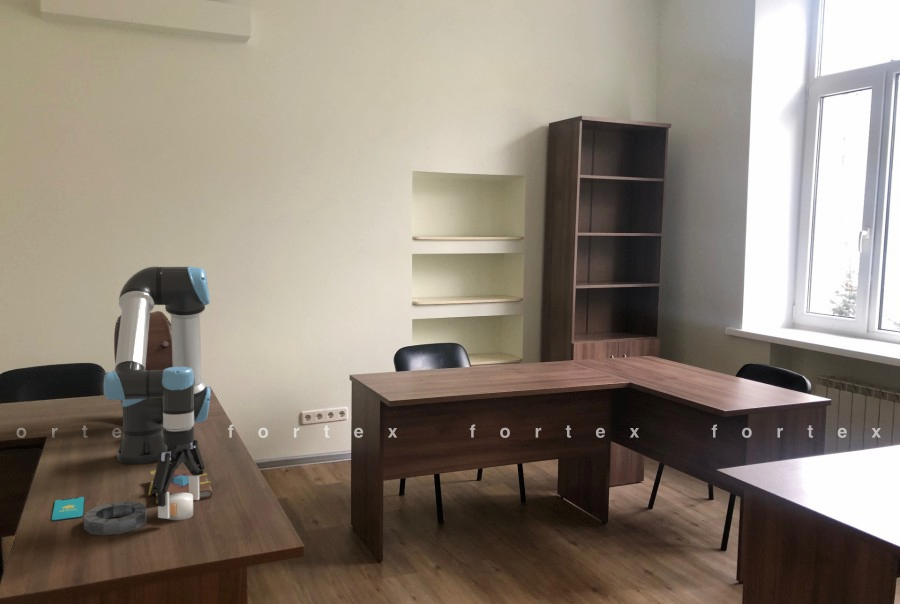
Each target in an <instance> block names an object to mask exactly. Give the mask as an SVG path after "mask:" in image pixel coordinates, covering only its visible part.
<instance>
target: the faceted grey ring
mask: <svg viewBox="0 0 900 604" xmlns="http://www.w3.org/2000/svg"><path fill="white" fill-rule="evenodd" d="M147 518H148V507H147V506H146V505H145V504H143V503H142V502H138V501H137V502H135V501H129V500H128V501H118V502H116V501H115V502H110V503H106V504H102V505H98V506H95V507H93V508H91V509H89V510H87V511H86V512H85V514H84V515H83V530H84V531H85V532H87V533H88V534H90V535H96V536H113V535H121V534H125V533H129V532H133V531H136V530H137V529H140V528H142V527H143V526H144V525H146V523H147Z"/></svg>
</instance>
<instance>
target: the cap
mask: <svg viewBox="0 0 900 604" xmlns="http://www.w3.org/2000/svg"><path fill="white" fill-rule="evenodd" d="M169 514H170V518H168V519H167V520H168V521H169V520H170V521H183V520H187V519H189V518H191V517H193V516H194V500H193V495H192V494H191V493H185V492H181V493H174V494H171V495H169Z"/></svg>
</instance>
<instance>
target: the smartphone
mask: <svg viewBox="0 0 900 604" xmlns="http://www.w3.org/2000/svg"><path fill="white" fill-rule="evenodd" d="M85 499H86V498H85V496H79V497H72V498H71V497H70V498H65V499H64V498H63V499H56V500H55V501H54V504H53V509H52V514H51V519H50V520H51V522H60V521H66V520H74V519H81V518H84V509H85Z"/></svg>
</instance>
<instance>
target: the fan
mask: <svg viewBox="0 0 900 604" xmlns="http://www.w3.org/2000/svg"><path fill="white" fill-rule="evenodd" d="M120 321H121V315H119V316H118V317H117V320H116V322H115V326H114V335H113V336H114V337H113V341H114V342H113V346H114V347H113V348H114V349H113V351H114V364H115V363H116V355H117V346H118V338H119V329H120ZM170 367H172V337H171V320H169V318H168V317H167V315H165V313H163V311H160V310H156V311H150V317H149V330H148V343H147V355H146V368H145V370H165V369H167V368H170ZM120 403H121V405H122V404H123V400H120ZM121 407H122V406H121ZM122 409H123V407H122ZM164 429H165V428H164V427H163V425H162V434H163V430H164Z"/></svg>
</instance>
